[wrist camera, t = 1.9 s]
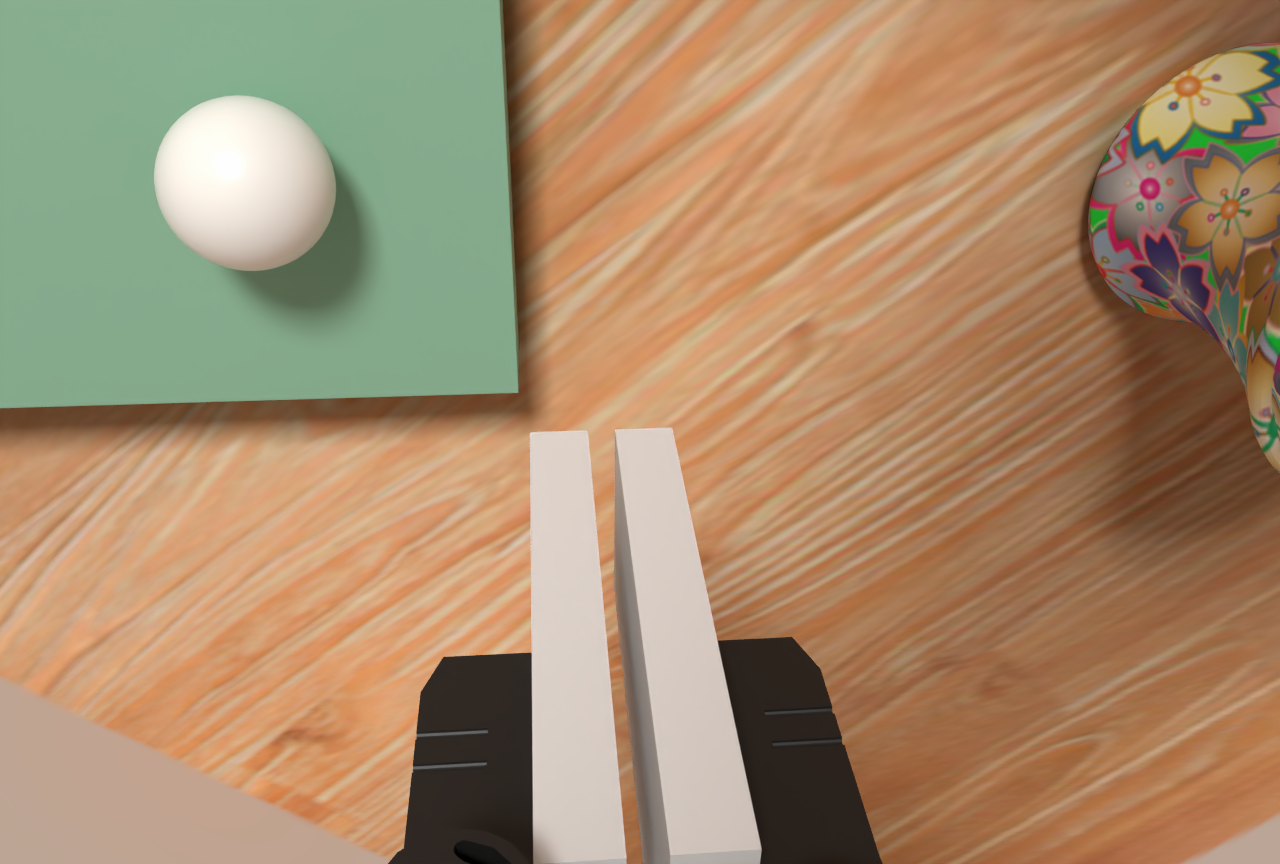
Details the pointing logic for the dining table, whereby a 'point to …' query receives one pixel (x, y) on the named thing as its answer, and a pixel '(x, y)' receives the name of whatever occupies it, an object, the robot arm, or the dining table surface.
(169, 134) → the ball
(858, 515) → the dining table surface
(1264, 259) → the mug
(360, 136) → the green golf putting board
